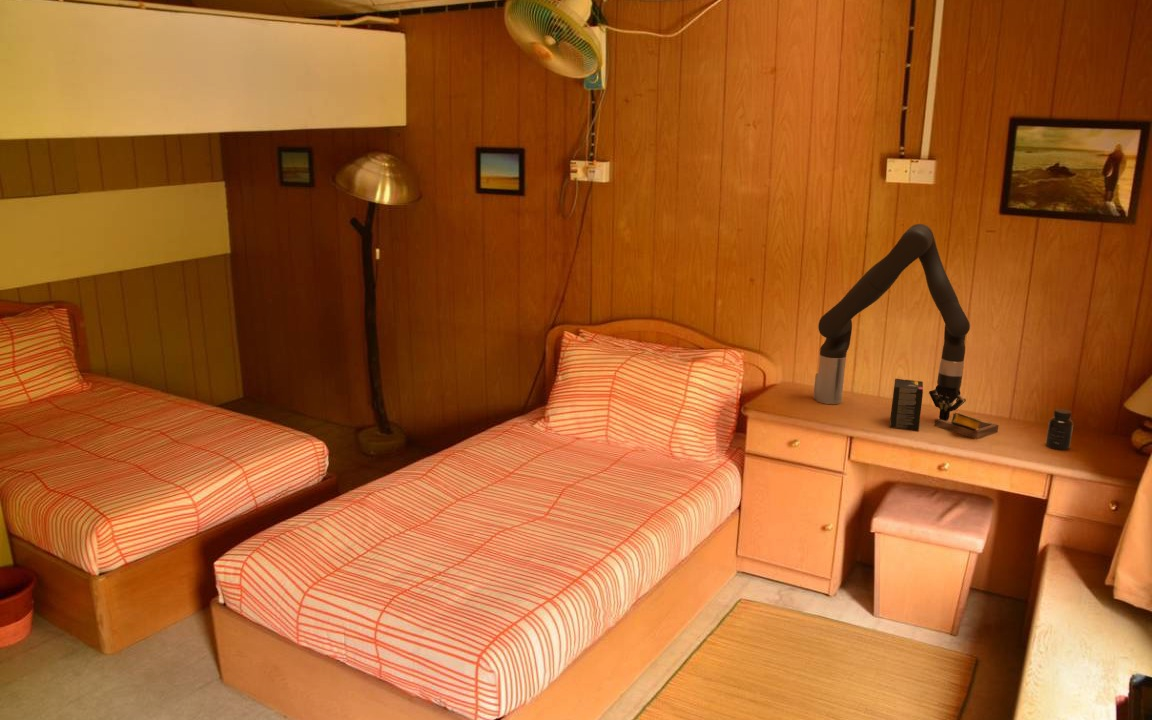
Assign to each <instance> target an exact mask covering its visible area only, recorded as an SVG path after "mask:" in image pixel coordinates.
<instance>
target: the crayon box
mask: <svg viewBox="0 0 1152 720" xmlns="http://www.w3.org/2000/svg"><path fill="white" fill-rule="evenodd" d="M957 413H958V412H957ZM968 416H969V415H965V414H962V413H960V412H959V413H958V414H956V415H954V416H953V415H952V420H951V423H955V424H958V425H961V426H965V427H968V428H971V429H975V430H978V429H979V428H978V426H979V423H980V420H981V419H979V420H977V419H978V418H976V419H974V418H975V417H972V416H969V417H968ZM971 417H972V418H971Z"/></svg>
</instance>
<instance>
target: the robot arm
mask: <svg viewBox="0 0 1152 720" xmlns="http://www.w3.org/2000/svg"><path fill="white" fill-rule="evenodd" d="M935 239H936V238H935V237H934V233H933V231H932V229H931V228H930V227H929V226H928V225H926V224H924V223H917V224H913V225H912V226H910V227H909V228H908V229H907V230H906V231H905V232H904V233H903V234H901V237H900V239H899V240H898V241H897V243H896V244H895V245H894V246H893V248H892V249H891V250H890V252H888V254H886V256H884V257H883V258H882V259H880V260H879V261H878V262H876V263H875V264H874V265H873V266H871V268H870V269H868V270H867V271H866V272H865V273H864V274H863V275H862V277H861V278H859V280H858V281H857V282H856V283H855V284H854V285H853V286H852V287H851V289H850V290H848V291H847V293H846V294H845V295H844V296H843V297H842V299H841V300H840V301H838V303H836V304H835V305H834V306H833V307H832V308H831V309H829V310H828V311H827V312H826V313H824V314H823V315H822V316H821V318H820V320H819V322H818V326H817V327H818V328H817V329H818V332H819V334H820V335H821V336H823V337H824V338H825V341H824V342H823V344H822V345H821V346H820V349H819V359H818V369H817V373H815V376H814V384H813V385H814V386H813V387H814V388H813V397H812V398H813V400H815V401H817V402H818V403H821V404H827V405H839V404H841V403H842V401H843V392H844V382H845V381H844V380H845V371H846V360H847V353H848V350H849V348H850V344H851V337H852V332H853V331H852V330H853V321H852V319H853V318H855V316H856V315H858V314H859V313H861V312H862V311H864V310H866V309H867V308H868V307H870V306H872V305H873V304H874V303H875V302H877V301H878V300H879V299H880V298H882V297H883V295H884V294H886V292H888V290H890V288H891V286H893V284H895V282H896V281H897V279H898V278H899V276H900V275H901V274H902V273H903V272H904V270H906V269H907V268H908V267H909V266H910V265H911V264H912V263H914V262H915V261H916V260H918V259H919V262H920V263H921V266H922V268H923V272H924V276H925V280H926V281H925V282H926V284H927V288H928V291H929V293H930V295H931V296H930V297H931V298H932V300H933V302H934V304H935V307H936V308H937V310H938V311H939V313H940V315H941V317H942V320H943V322H944V331H943V332H944V335H943V336H944V338H943V345H942V352H941V358H940V362H939V367H938V374H937V379H936V380H937V381H936V383H937V385H936V386H935V388H934V389H933V390H929V392H928V394H929V395H930V398H931V401H932V402H933V404H934V406H935V408H938V409H939V413H938V419H941V420H945V421H949V419H950V412H953V411H957V409H959V408H960V407H961V406H962V405H963V404H964V403H966V401H967V400H966V398H963V397H962V396H961V390H960V389H961V387H962V380H963V375H964V367H965V366H964V363H965V361H964V360H965V355H966V345H965V343H966V335H967V334H968V333H969V331H970V329H971V324H970V321H969V319H968V316H966V314H965V312H964V310H963V307H962V305H961V304H960V301H959V299H958V296H957V294H956V291H955V289H954V287H953V286H952V283H951V281H950V279H949V278H948V274H947V272H946V270H945V268H944V265H943V262H942V260H941V256H940V254H939V251H938V247H937V243H936V240H935Z"/></svg>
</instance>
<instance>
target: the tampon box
mask: <svg viewBox="0 0 1152 720" xmlns="http://www.w3.org/2000/svg"><path fill="white" fill-rule="evenodd" d="M923 394H924V381H921V380H919V381H918V380H911V379H902V378H901V379H900V378H895V379H894V385H893V393H892V400H891V401H892V402H891V409H890V416H889V427H890V428H891V429H892V428H893V429H900V430H901V429H902V430H908V431H916V432H919V431H920V430H919V429H920V421H921V412H922V404H923Z"/></svg>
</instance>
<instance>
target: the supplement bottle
mask: <svg viewBox="0 0 1152 720" xmlns="http://www.w3.org/2000/svg"><path fill="white" fill-rule="evenodd" d="M1073 429H1074V422H1073V420H1072V411H1071V410H1068V409H1064V408H1063V409H1062V408H1057V409H1054V412H1053V417H1051V418H1050V419H1049V421H1048V428H1047V434H1046V440H1045V441H1046V442H1045V445H1046V447H1048V448H1049V449H1050V448H1051V449H1053V450H1056V449H1057V451H1067V450H1069V449H1070V447H1071V443H1072V436H1073Z"/></svg>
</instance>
